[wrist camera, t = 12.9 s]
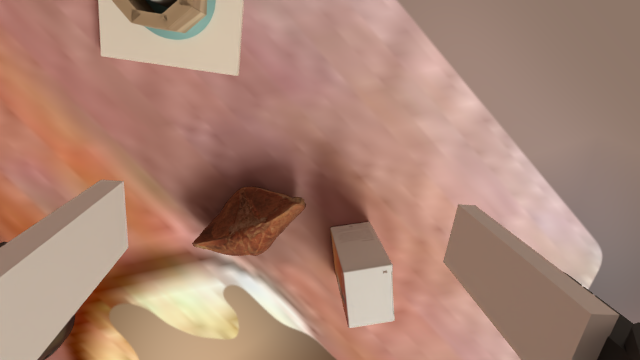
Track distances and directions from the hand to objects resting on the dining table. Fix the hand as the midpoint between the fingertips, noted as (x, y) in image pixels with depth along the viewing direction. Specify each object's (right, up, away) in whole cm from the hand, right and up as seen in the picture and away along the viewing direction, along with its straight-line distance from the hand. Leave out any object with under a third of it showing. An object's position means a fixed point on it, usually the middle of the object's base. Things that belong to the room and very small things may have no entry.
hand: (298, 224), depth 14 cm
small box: (+5, -8, +35) cm, 36 cm away
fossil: (-8, -2, +32) cm, 33 cm away
